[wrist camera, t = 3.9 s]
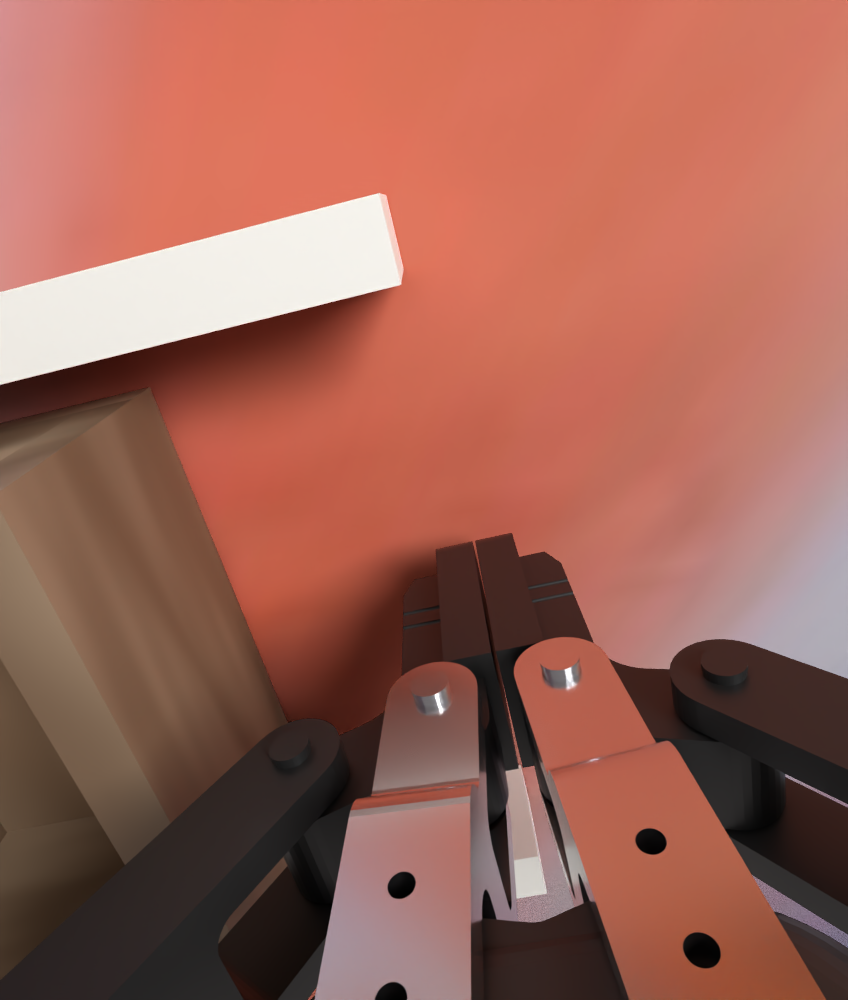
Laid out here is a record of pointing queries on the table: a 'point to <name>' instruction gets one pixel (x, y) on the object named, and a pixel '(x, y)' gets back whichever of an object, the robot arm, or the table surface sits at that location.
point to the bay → (219, 305)
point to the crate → (109, 658)
